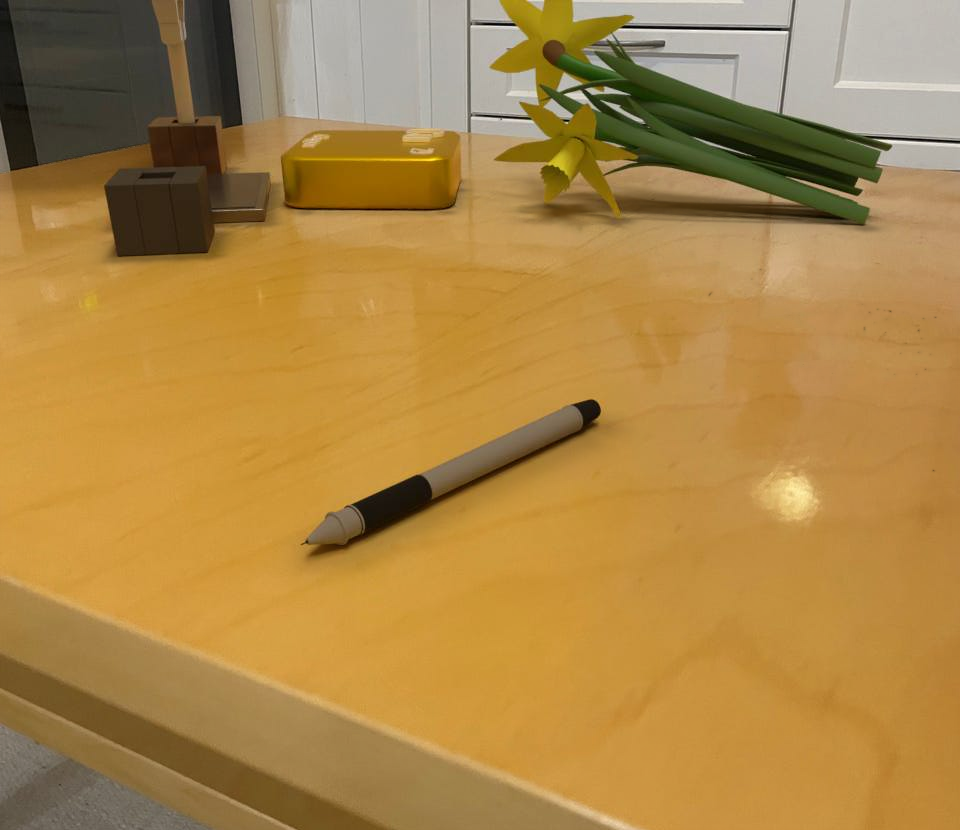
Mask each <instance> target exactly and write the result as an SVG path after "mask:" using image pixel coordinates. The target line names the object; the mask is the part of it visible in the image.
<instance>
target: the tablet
mask: <svg viewBox="0 0 960 830" xmlns="http://www.w3.org/2000/svg"><path fill="white" fill-rule="evenodd" d="M207 179H208V187H209V194H210V201H211V208H212V215H213V223H214V224H219V223H221V224H223V223H245V222H248V223H249V222H250V223H251V222H265V220H266V215H267V209H268V208H267V207H268V202H269V197H270V195H269V194H270V189H271V184H272V181H271V173H270V172H269V171H265V172H264V171H262V172H230V173H224V174H207Z"/></svg>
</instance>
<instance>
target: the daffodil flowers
mask: <svg viewBox="0 0 960 830" xmlns="http://www.w3.org/2000/svg"><path fill="white" fill-rule="evenodd" d="M498 1H499V3H500V5H501V7H502V9H503V10H504V12H505V14H506V16H507V17H508V18H509V20H511V22H513V24H514V25H515V26H516V27H517V28H518V29H519V30H520V31H521V32H522V33H523V34H524V35H525V37H526V38H527V39H525V40H522V41H521V42H519V43H518V44H516V45H515V46H513V47H512V48H510V49H508V50H507V51H506V52H505V53H503V54H502V55H500V56H499V57H498V58H497V59H496V60H495V61H493V62H492V63H491V64H490V66H489V69H490V70H494V71H498V72H500V73H505V74H520V73H523V72H526V71H530V70H534V71H535V86H536V87H535V88H536V97H537V101H538V104H533V103H528V102H524V101H518V103H519V105H520V107H521V108H522V110H523V112H525V114H526V115H527V116H528V117H529V118H530V119H531V121H532V122H533V123H534V124H535V125H536V126H537V127H538V129H539V130H541V132H542V133H543V134H544V135H545V136H546V137H548V138H549V139H545V140H539V141H532V142H523V143H520V144H518V145H515V146H512V147H509V148H508V149H506V150H505V151H504V152H502V153H500V154H499V155H498V156H496V157H495V158H494V159H493V161H495V162H503V163H504V162H505V163H546V164H545V165H543V166H542V167H541V168H540V172H539V173H538V174H539V175H540V180H543V184H544V185H545V187H544V193H543V201H544V203H545V204H547V203H549V202H551V201H552V200H553V199H555V198H556V197H557V196H558V195H559V194H560V193H562V192H563V191H564V192H567V191H568V190H569V189H570V186H571V183H572V181H573V180H574V179H575V178H576V177H577V176H578V175H579V173H580V174H581V177H582V178H583V179H584V180H585V181H586V182H587V183H588V184H589V185H590V186H591V188H593V189H594V190H595V192H596V193H598V194H599V195H600V197H601V198H602V199H603V200H604V201H605V202H606V203H607V204H608V205H609V206H610V208H611V210H612V212H613V213H614V214H615V215H616V217H618V218H619V219H622V218H623V217H622V213H621V211H620V209H619V206H618V204H617V201H616V199H615V196H614V194H613V191H612V189H611V187H610V185H609V183H608V181H607V179H606V178H605V177H606V176H609V175H612V174H614V173H617V172H620V171H621V172H622V171H625V170H628V169H633V168H640V167H642V168H643V167H657V168H658V167H659V168H669V169H675V170H677V171H678V170H679V171H683V172H689V173H693V174H697V175H702V176H706V177H711V178H716V179H720V180H725V181H729V182H732V183H735V184H738V185H741V186H743V187H747V188H750V189H753V190H756V191H760V192H763V193H765V194H769V195H772V196H775V197H778V198H781V199H785V200H788V201H790V202H793V203H796V204H800V205H803V206H806V207H809V208H812V209H815V210H818V211H821V212H825V213H827V214H831V215H834V216H836V217H840V218H843V219H846V220H849V221H852V222H855V223H858V224H861V225H866V223H867V220H868V217H869V213H870V210H871V207H868V206H864V205H862V204H859V203H858V201H855V200H853V199H851V198H847V197H844V196H840V195H839V194H836V193H833V192H830V191H827V190H825V189H821V188H818V187H816V186H813V185H817V186H821V187H825V188H828V189H831V190H834V191H838V192H841V193H845V194H848V195H851V196H854V197H859V196H860V195H861V194H862V193H863V191H864V189H862V188H859V187H856V185H857V182H858V181H859V179H862V180H865V181H868V182H870V183H874V184H878V183H879V181H880V179H881V176H882V173H883V171H884V168H882V167H879V166H877V163H878V162H879V159H880V156H881V153H882V151H884V152H888V151H890V150H891V149H892V148H893V144H891V143H887V142H884V141H881V140H877V139H874V138H870V137H867V136H864V135H862V134H861V135H860V134H857V133H854V132H850V131H847V130H843V129H840V128H836V127H833V126H830V125H826V124H822V123H819V122H815V121H811V120H807V119H803V118H799V117H794V116H791V115H788V114H783V113H779V112H775V111H771V110H769V109H768V110H767V109H764V108H759V107H755V106H752V105H749V104H746V103H745V104H744V103H742V102H740V101H736V100H733V99H730V98H728V97H725V96H722V95H719V94H716V93H714V92H711V91H708V90H707V89H706V90H705V89H703V88H700V87H697V86H695V85H692V84H689V83H688V82H687V83H686V82H685V81H682V80H679V79H677V78H674V77H672V76H671V77H670V76H668V75H665V74H663V73H661V72H657V71H655V70H653V69H650V68H647V67H644V66H642V65H639V64H637V63H635V61H634V60H633V59H632V57H631V56H630V55H629V54H628V53H627V51H626V50H625V48H624V47H623V46H622V44H621V42H620V41H619V40H618V38H617V37H616V36H615V34H614V33H615V32H617V31H618V30H619V29H621V28H622V27H624V26H626V25H627V24H628V23H629V22H631V21H633V20H634V18H635V16H634V15H632V14H622V15H617V16H616V15H615V16H601V17H594V18H587V19H582V20H577V21H574V4H573V3H574V2H573V0H544V1H543V6H542V9H540V8H538V7H537V6H535V5H534V4H533V3H531V2H529V1H528V0H498ZM610 35H612V37H613V39H614V40H615V42H616V44H617V46H618V47H617V46H616V45H615V44H614V43H613V42H612V41H611V40H610V39H608V38H607V37H608V36H610ZM605 38H606V39H605ZM603 39H605V40H606V43H607V44H608V46H609V47H610V48H611V50H612V52H613V53H614V54H615V55H613V54H609V53H607V52H604V51H598V50H594V54H595V55H596V56H597V57H598V59H600V60H601V61H602V62H603V63H604V64H605V65H606V66H607V67H608V68H610V69H608V68H605V67H602V66H599V65H596V64H592V62H591V61H590V59H589V58H588V56H587V55H586V54H585V52H584V51H583V50H584V49H586V48H588V47H590V46H592V45H594V44H596V43H598V42H600V41H602V40H603ZM564 74H566V75H567V76H569V77H570V78H572V79H574V80H575V81H577V82H579V83H581V84H578V85H574V86H572V87H568V88H565V89H563V90H561V91H558V89H559V86H560V83H561V80H562V78H563V76H564ZM605 88H609V89H610V90H611V89H612V90H615V91H618V92H621V93H604V92H605ZM587 89H594V90H596V91H599V92H601V93H595V94H592V93H591V92H589V91H588V90H587ZM579 91H581V94H583V95H584V97H586V99H587V100H588V101H589V102H590V103H591V104H592V105H593V106H594V107H595V108H596V109H594V108H592V106H591V105H590V104H589V103H588V102H586V103H582V102H580V101H577V100H576V99H573V98H572V97H569V96H567V95H566V94H570V93H575V92H579ZM622 93H623V94H622ZM551 100H553V101H554V102H555V103H557V104H558V106H560V107H561V108H563V109H564V110H565V111H567V112H568V113H570V114H571V115H572V116H571V118H570V119H569V121H568V122H565V121H564V120H563V119H562V118H561V117H559V116H558V115H557V114H555V112H553V111H552V110H549V109H548V108H546V107H545V106H546V105H548V103H549V102H551ZM607 103H609V104H612V105H616V106H618V107H619V109H620V110H622V111H623V112H625V113H628V114H629V115H631V116H633V117H635V118H638V119H639V120H641V121H642V122H644V123H645V124H643V123H640V122H639V121H637V120H635V119H633V118H631V117H629V116H628V115H625V114H623V113H622V112H620V111H619V110H617V109H615V108H613V107H611V106H610V105H608V104H607ZM703 141H705V142H703ZM706 142H707V143H706ZM708 143H711V144H708ZM712 144H713V145H712ZM615 145H616V146H615ZM617 145H618V146H617ZM715 145H716V146H715ZM718 146H720V147H718ZM722 147H723V148H722ZM597 161H599V162H606V163H608V162H613V161H629V162H631V163H628V164H625V165H622V166H619V167H617V168H613V169H612V170H609V171H607V172H605V173H603V172H602V170H601V167H600V166H599V164H598V162H597ZM632 162H633V163H632ZM798 180H799V181H798ZM801 181H804V182H807V183H811V184H813V185H810V184H807V183H804V182H801Z"/></svg>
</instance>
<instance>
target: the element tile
mask: <svg viewBox="0 0 960 830" xmlns="http://www.w3.org/2000/svg"><path fill="white" fill-rule="evenodd" d="M280 164H281V174H282V184H283V195H284V202H285V204H286V205H287V206H289V207H291V208H296V209H327V210H328V209H329V210H330V209H332V210H333V209H334V210H335V209H336V210H337V209H338V210H339V209H341V210H342V209H343V210H351V209H352V210H441V209H445V208H449V207H451V206H453V205H454V203H455V201H456V197H457V193H458V189H459V185H460V182H461V179H462V137H461V136H460V134H459V133H457V131H454V130H444V129H441V128H429V127H428V128H427V127H423V128H419V127H418V128H410V129H406V130H359V129H358V130H351V129H350V130H349V129H347V130H346V129H345V130H344V129H343V130H342V129H337V130H336V129H334V130H333V129H332V130H330V129H326V130H325V129H324V130H323V129H321V130H320V129H319V130H314V131H312V132H310V133H307V134H305V135H304V136H303V137H302V138H301V139H300V140H298V141H297V142H296V143H295V144H294V145H292V146H291V147H289V148H288V150H286V151H285V152H283V153H282V154H281V155H280Z"/></svg>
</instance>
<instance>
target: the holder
mask: <svg viewBox="0 0 960 830" xmlns="http://www.w3.org/2000/svg"><path fill="white" fill-rule="evenodd" d="M103 189H104V193H105V199H106V204H107V210H108V214H109V219H110V225H111V230H112V235H113V240H114V245H115V251H116V255H117V257H127V256H129V257H131V256H152V255H154V256H155V255H178V254H197V253H200V254H201V253H208V251H209V248H210V245H211V243H212V240H213V237H214V234H215V231H216V229H215V223H213V215H212V208H211V201H210V194H209V187H208V179H207V172H206V167H205V166H188V167H154V166H153V167H126V168H125V167H124V168H123V167H122V168H121V167H120V168H118V169H117V171H115V173H114V174H113V175H112V176H111V177H110V178H109V179H108V180H107V181H106V183H105V184H104V185H103Z"/></svg>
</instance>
